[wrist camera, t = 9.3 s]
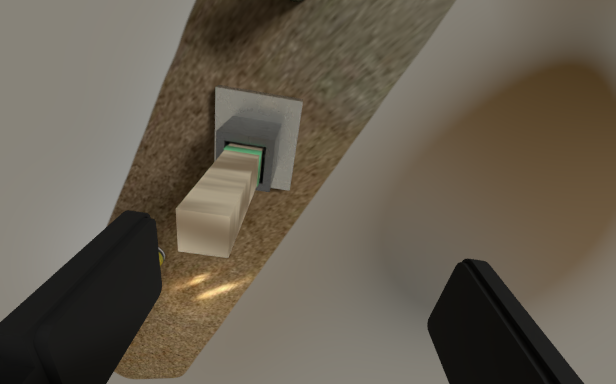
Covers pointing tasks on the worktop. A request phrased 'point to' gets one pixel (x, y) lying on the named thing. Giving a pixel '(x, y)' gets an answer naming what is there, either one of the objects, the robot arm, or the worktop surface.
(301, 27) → the worktop surface
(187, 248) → the column
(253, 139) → the stand base
